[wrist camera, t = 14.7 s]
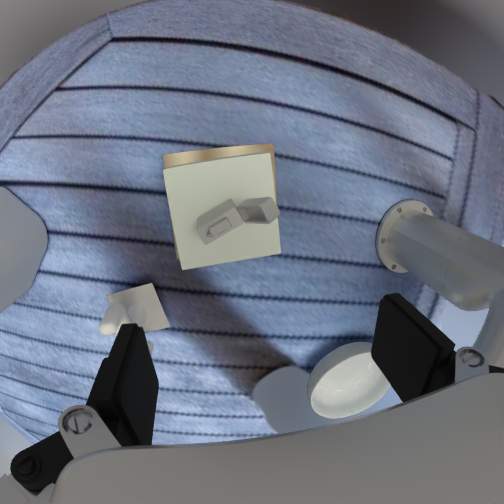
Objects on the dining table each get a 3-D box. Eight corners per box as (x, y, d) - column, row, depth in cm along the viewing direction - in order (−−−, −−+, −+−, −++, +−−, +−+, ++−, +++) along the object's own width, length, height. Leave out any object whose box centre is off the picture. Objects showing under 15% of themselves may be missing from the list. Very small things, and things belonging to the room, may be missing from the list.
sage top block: (261, 152, 34) (270, 152, 30) (272, 240, 38) (281, 253, 34) (168, 166, 34) (162, 169, 29) (185, 254, 37) (182, 270, 33)
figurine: (133, 329, 45) (113, 395, 31) (110, 277, 41) (75, 333, 27) (174, 319, 45) (166, 387, 31) (153, 265, 42) (131, 321, 28)
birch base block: (265, 144, 39) (273, 143, 34) (271, 236, 43) (279, 247, 39) (168, 154, 38) (162, 154, 33) (180, 246, 42) (177, 259, 37)
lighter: (204, 232, 32) (205, 261, 24) (196, 218, 31) (194, 243, 24) (263, 197, 31) (283, 216, 24) (256, 183, 31) (273, 198, 23)
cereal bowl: (286, 358, 51) (296, 384, 44) (369, 313, 50) (388, 334, 44) (316, 406, 57) (326, 430, 50) (385, 369, 56) (400, 390, 50)
